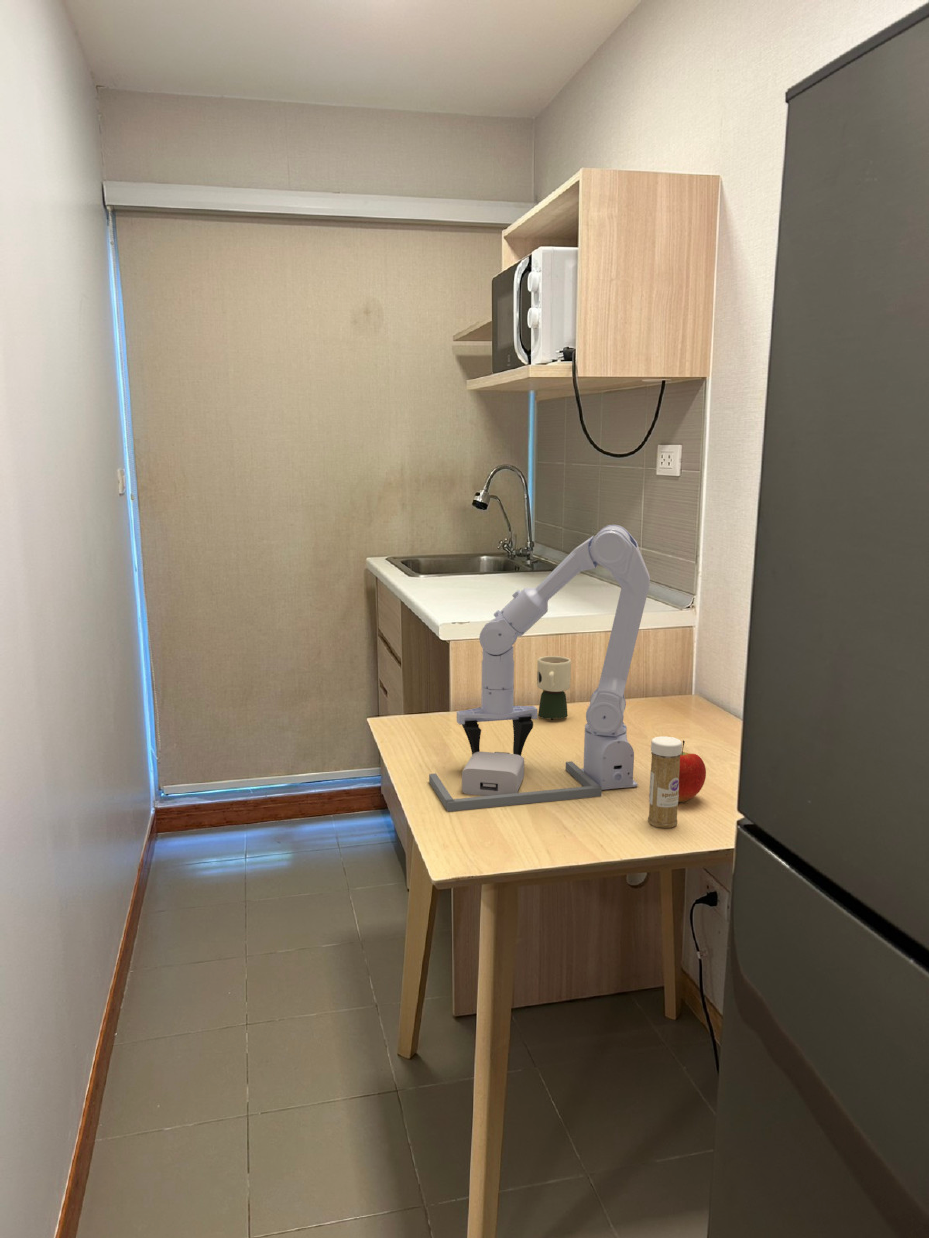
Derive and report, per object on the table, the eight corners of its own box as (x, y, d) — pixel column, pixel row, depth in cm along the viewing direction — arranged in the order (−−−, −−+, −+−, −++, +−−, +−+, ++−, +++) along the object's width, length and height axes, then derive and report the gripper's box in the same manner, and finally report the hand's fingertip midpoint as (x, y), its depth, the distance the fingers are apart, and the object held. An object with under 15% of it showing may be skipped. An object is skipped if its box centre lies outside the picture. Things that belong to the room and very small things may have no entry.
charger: (528, 768, 162) (516, 799, 147) (478, 764, 164) (461, 794, 149) (529, 743, 161) (516, 772, 146) (479, 739, 163) (461, 767, 148)
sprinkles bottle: (668, 831, 135) (673, 746, 132) (642, 823, 138) (645, 740, 135) (682, 822, 138) (687, 739, 136) (656, 814, 141) (660, 733, 139)
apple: (644, 800, 147) (646, 742, 145) (667, 786, 153) (670, 730, 151) (689, 813, 142) (692, 753, 140) (711, 798, 148) (715, 741, 146)
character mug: (540, 709, 198) (541, 652, 195) (572, 712, 196) (573, 654, 194) (532, 724, 187) (533, 664, 185) (566, 726, 186) (568, 666, 183)
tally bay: (601, 796, 149) (601, 787, 148) (447, 811, 142) (447, 802, 141) (571, 769, 161) (571, 761, 161) (429, 782, 154) (429, 773, 154)
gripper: (529, 678, 164) (527, 748, 166) (452, 682, 160) (452, 754, 162) (542, 687, 157) (540, 761, 159) (462, 692, 153) (461, 768, 156)
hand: (496, 759), depth 160 cm, fingers open, 7 cm apart
